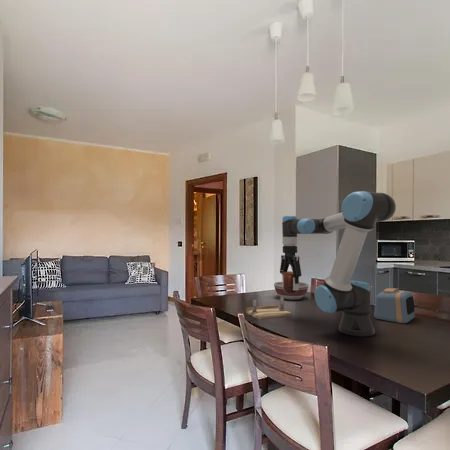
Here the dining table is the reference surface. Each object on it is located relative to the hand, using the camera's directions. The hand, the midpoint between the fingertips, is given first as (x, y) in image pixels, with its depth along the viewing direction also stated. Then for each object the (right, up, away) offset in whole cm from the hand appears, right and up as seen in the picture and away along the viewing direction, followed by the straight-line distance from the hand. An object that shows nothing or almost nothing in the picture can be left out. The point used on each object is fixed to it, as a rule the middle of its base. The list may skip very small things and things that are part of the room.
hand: (290, 288), depth 179 cm
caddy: (-10, -16, +11) cm, 22 cm away
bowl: (+11, -17, +56) cm, 60 cm away
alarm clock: (+54, -16, +1) cm, 57 cm away
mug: (0, -2, 0) cm, 2 cm away
